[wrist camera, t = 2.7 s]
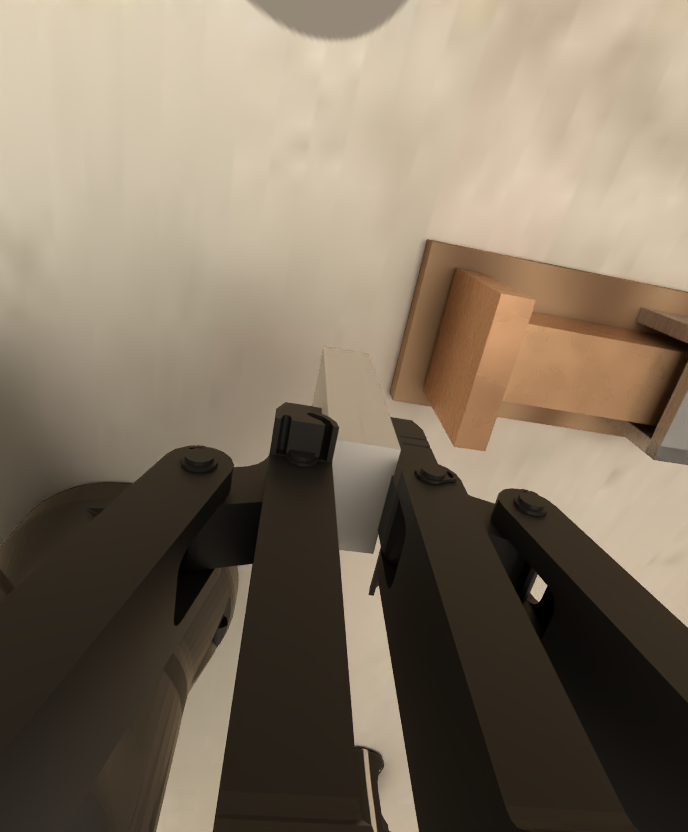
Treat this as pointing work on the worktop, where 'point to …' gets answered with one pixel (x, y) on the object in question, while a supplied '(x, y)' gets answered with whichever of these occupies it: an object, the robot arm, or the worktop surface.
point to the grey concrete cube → (684, 414)
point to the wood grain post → (540, 363)
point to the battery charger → (370, 788)
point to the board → (554, 296)
